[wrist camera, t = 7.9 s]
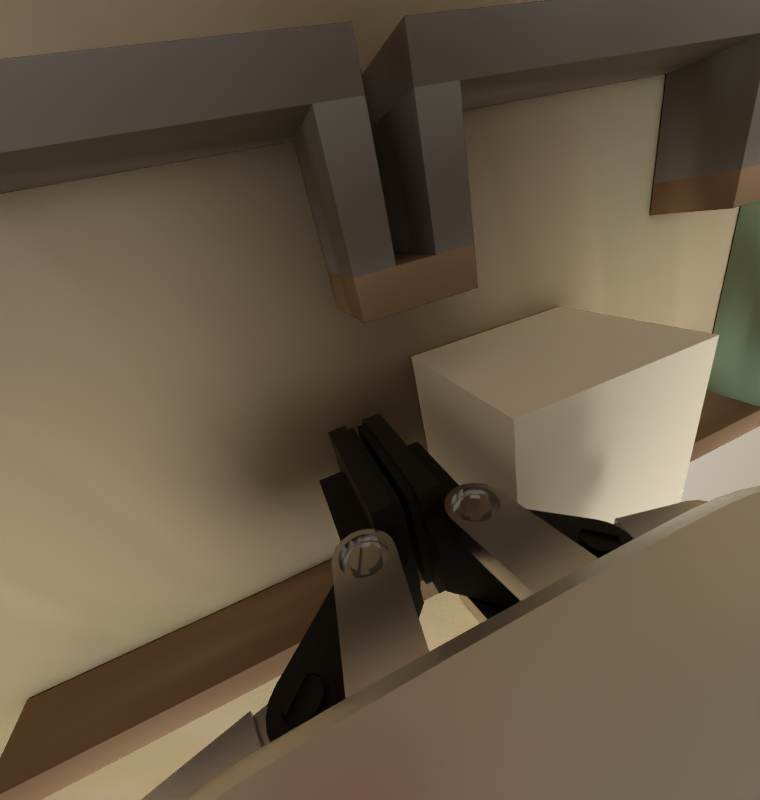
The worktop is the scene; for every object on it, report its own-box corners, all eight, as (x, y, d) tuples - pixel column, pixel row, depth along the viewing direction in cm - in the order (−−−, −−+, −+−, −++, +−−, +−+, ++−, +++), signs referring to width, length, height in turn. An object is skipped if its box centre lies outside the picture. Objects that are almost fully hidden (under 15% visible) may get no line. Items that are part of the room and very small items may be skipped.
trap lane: (-613, 216, 5) (-1243, 191, 3) (802, 11, 12) (926, -41, 10) (47, 714, 12) (4, 818, 10) (710, 399, 19) (772, 419, 17)
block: (410, 356, 12) (513, 419, 7) (559, 306, 13) (719, 334, 9) (435, 495, 14) (521, 601, 10) (556, 441, 16) (677, 514, 11)
